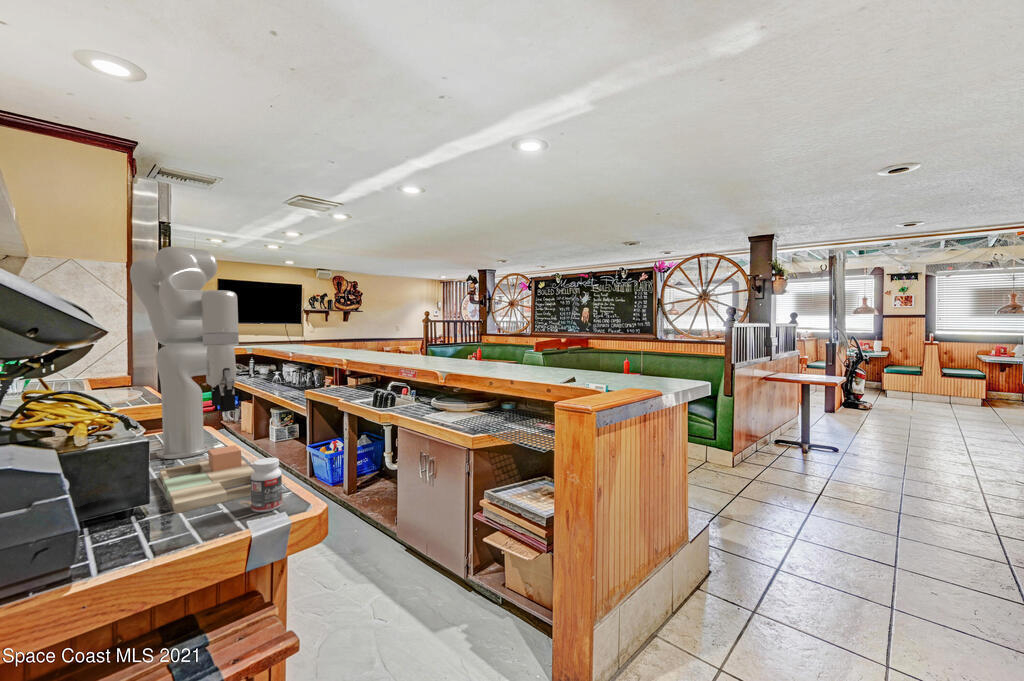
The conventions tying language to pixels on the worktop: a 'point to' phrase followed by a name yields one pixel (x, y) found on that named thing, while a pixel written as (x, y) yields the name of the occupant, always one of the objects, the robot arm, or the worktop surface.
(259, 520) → the worktop surface
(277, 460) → the pill bottle
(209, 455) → the block
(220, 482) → the board
